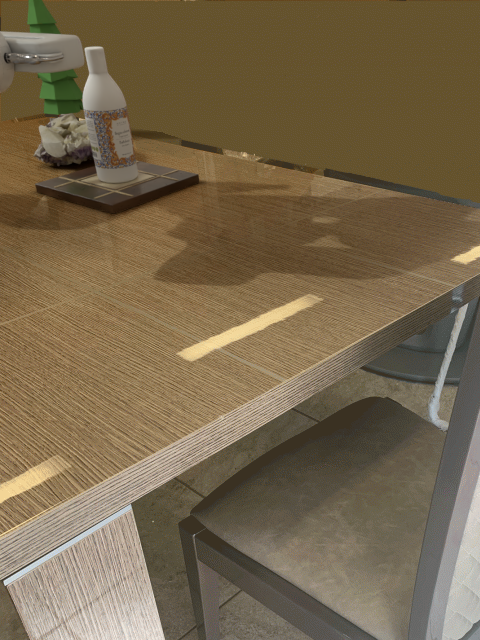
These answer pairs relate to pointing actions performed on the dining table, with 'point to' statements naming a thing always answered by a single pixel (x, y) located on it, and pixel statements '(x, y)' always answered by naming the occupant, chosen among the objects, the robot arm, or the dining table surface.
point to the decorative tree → (57, 85)
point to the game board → (117, 187)
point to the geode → (64, 141)
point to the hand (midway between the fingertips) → (42, 42)
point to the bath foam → (107, 122)
